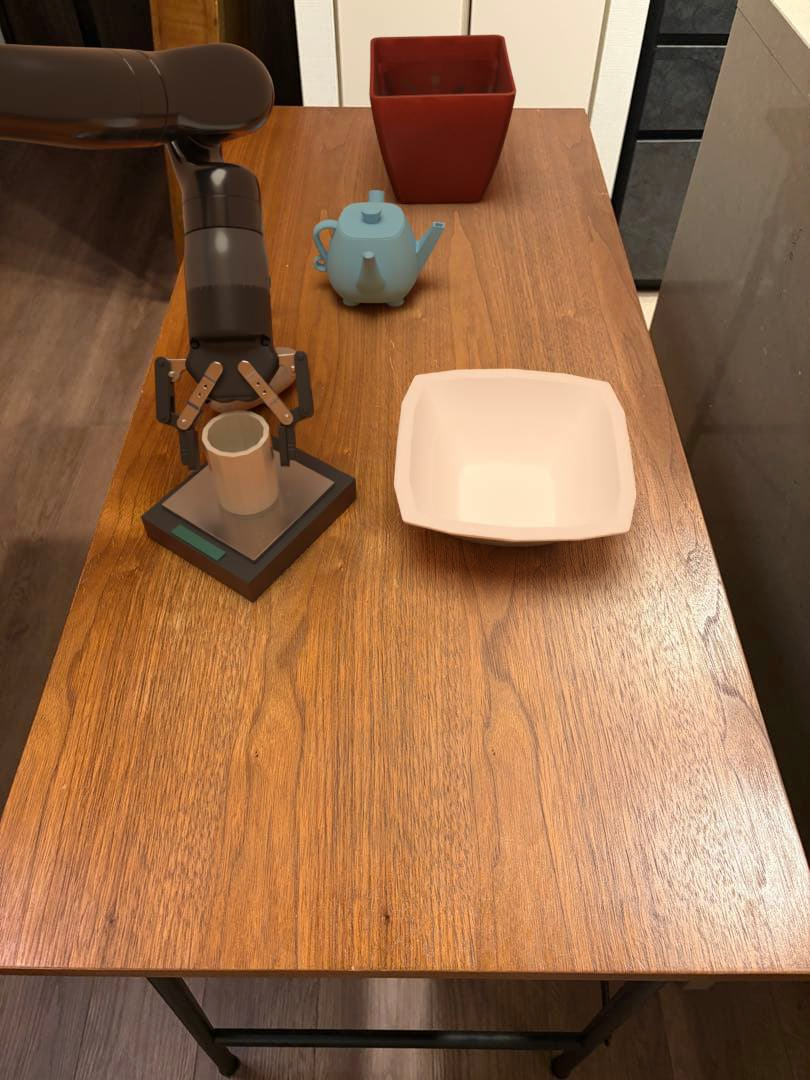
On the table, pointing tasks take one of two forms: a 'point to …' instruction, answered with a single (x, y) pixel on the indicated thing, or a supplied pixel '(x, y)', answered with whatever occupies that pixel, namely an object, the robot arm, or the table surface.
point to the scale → (264, 572)
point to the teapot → (373, 252)
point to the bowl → (514, 457)
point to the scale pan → (255, 530)
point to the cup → (241, 461)
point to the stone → (277, 384)
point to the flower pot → (440, 113)
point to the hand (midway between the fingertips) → (240, 469)
